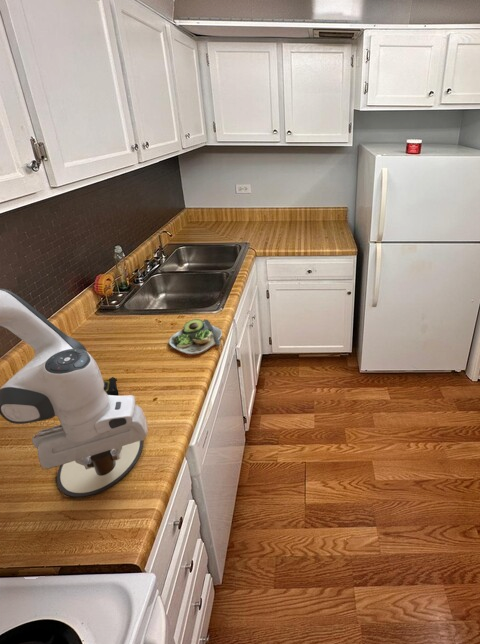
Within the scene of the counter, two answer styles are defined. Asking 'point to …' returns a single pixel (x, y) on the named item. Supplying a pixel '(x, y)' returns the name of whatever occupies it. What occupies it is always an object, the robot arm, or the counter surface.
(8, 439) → the counter surface
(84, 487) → the board
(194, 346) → the avocado toast plate
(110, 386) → the tape measure
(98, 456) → the eye puck
